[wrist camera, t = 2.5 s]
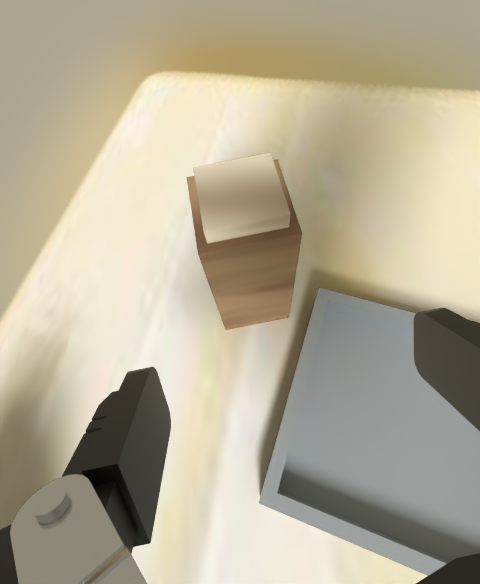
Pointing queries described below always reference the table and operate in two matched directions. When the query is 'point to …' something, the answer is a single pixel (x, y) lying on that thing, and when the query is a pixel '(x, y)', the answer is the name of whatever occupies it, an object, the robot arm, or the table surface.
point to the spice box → (246, 238)
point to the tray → (374, 441)
